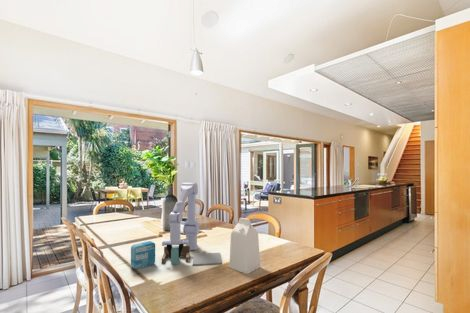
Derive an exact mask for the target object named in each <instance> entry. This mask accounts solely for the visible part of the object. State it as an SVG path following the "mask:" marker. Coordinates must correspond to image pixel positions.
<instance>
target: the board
mask: <svg viewBox="0 0 470 313" xmlns="http://www.w3.org/2000/svg"><path fill="white" fill-rule="evenodd" d="M192 259H193V260H192V267H194V266H209V265H211V266H212V264H213V265H214V264H215V265H222V256H221V252H206V253H204V252H203V253H193V258H192Z"/></svg>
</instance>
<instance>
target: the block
mask: <svg viewBox="0 0 470 313" xmlns="http://www.w3.org/2000/svg"><path fill="white" fill-rule="evenodd" d="M179 262H180V258H179V245H172V249H171V259H170V265H179Z"/></svg>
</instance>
